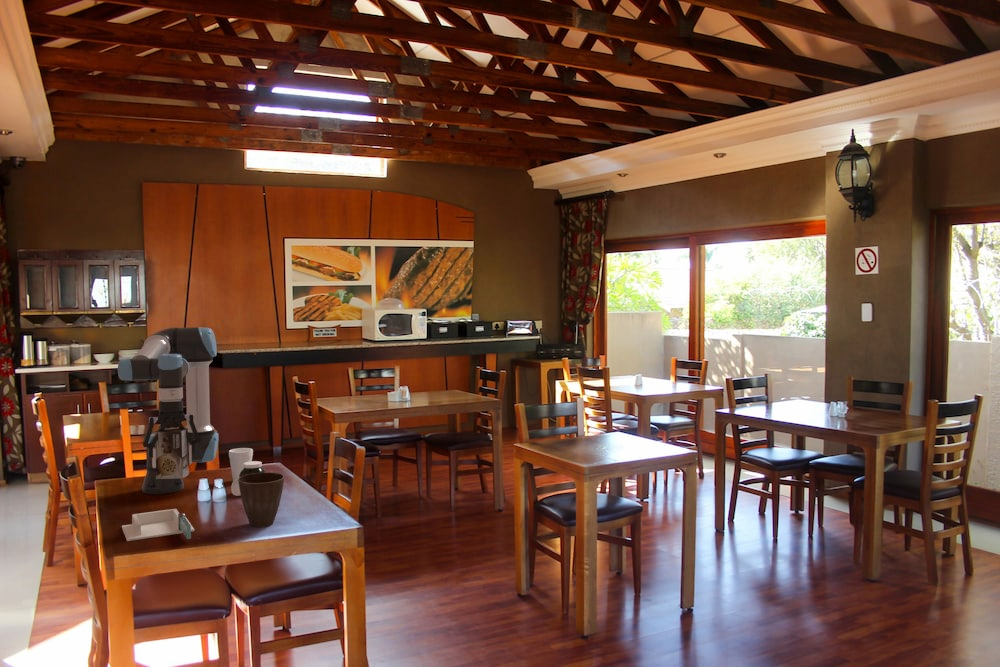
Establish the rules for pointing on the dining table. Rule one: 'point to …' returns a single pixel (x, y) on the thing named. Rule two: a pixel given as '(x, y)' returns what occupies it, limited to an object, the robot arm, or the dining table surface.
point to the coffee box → (172, 454)
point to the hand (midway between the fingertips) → (172, 465)
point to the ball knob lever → (184, 525)
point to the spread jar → (248, 469)
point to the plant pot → (261, 497)
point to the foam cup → (239, 460)
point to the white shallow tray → (153, 525)
